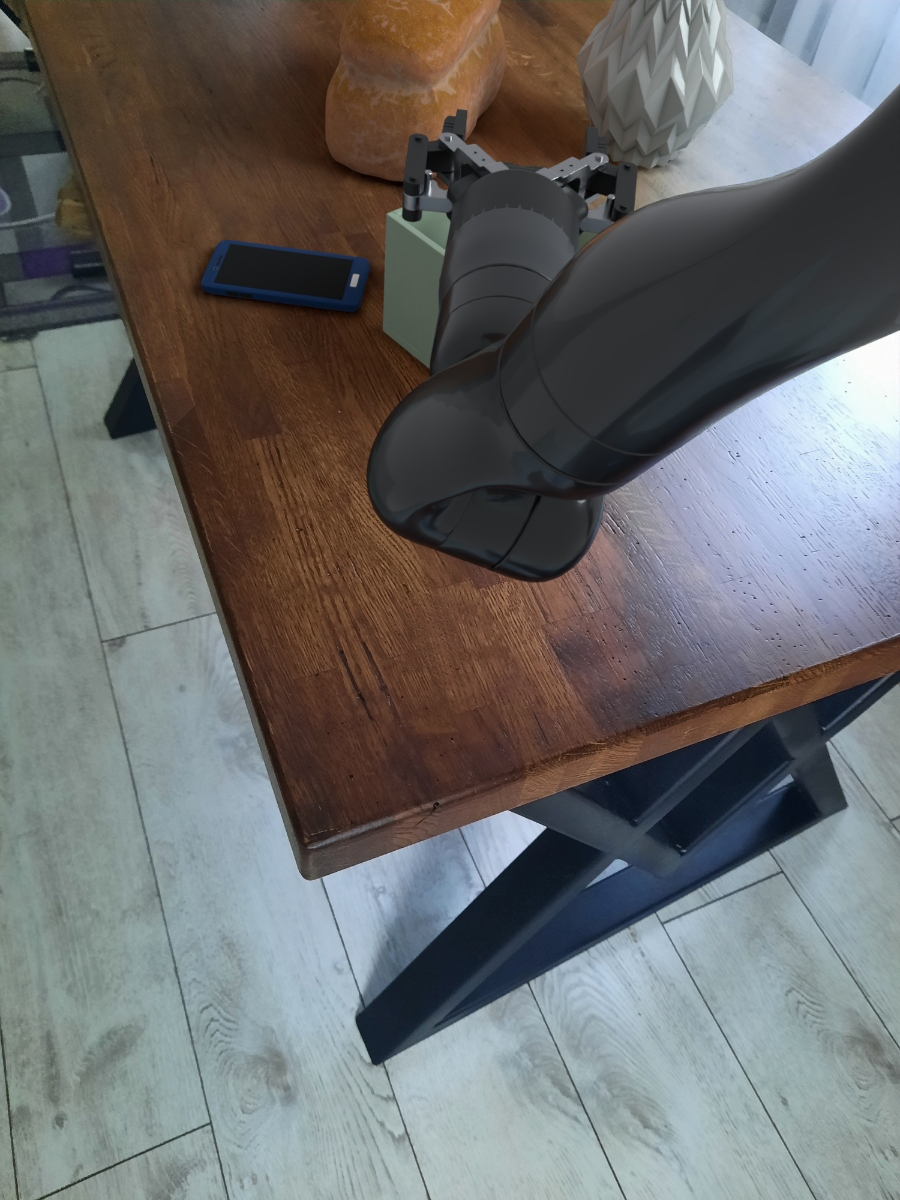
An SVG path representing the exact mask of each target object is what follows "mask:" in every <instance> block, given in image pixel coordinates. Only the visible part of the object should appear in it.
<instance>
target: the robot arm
mask: <svg viewBox="0 0 900 1200" xmlns="http://www.w3.org/2000/svg"><path fill="white" fill-rule="evenodd" d="M467 113H468V110H463V109H457V112H456V116H447V117H446V118H445V120H444V125H443V129H442V134H440V135H439V139H438V140H435V141H428V140H429V139H428V137H427V136H426V135H423V134H412V135H410V136H409V142H408V150H407V157H406V164H405V172H404V182H402V183H403V185H402V204H401V205H402V206H401V208H402V218H403V219H404V220H406V221H408V222H418V221H420V220H421V218H422V211H432V212H442V213H446V216H447V218H448V219H449V220H450V227H449V233H448V238H447V243H446V249H445V254H444V260H443V265H442V270H441V275H440V278H439V291H438V304H439V313H438V318H437V324H436V330H435V335H434V341H433V347H432V352H431V358H430V369H429V377H428V378H427V379H425V380H424V381H422V382H420V383H419V384H418V385H417V386H415V387H414V388H413V389H412V390H411V391H410V392H408V393H407V394H406V395H405V396H404V397H403V398H402V399H401V400H400V401H399V403H398V404H397V405H395V407H394V408H392V411H391V412H390V413H389V414H388V416H387V417H386V419H384V421H383V423H382V425H381V426H380V427H379V429H378V432H377V434H376V436H375V438H374V439H373V443H372V444H371V448H370V451H369V455H368V459H367V463H366V472H365V483H366V484H365V485H366V490H367V495H368V499H369V501H370V504H371V507H372V509H373V511H374V513H375V514H376V516H377V517H378V519H379V520H380V521H381V523H382V524H383V525H384V526H385V527H386V529H389V530H390V531H391V532H392V533H394V534H395V535H397V536H399V537H401V538H402V539H405V540H406V541H409V542H411V543H413V544H417V545H420V546H422V547H424V548H428V549H431V550H434V551H436V552H439V553H442V554H445V555H447V556H450V557H452V558H454V559H458V560H461V561H463V562H466V563H468V564H471V565H474V566H477V567H479V568H481V569H486V570H487V571H490V572H493V573H495V574H498V575H501V576H503V577H506V578H509V579H511V580H515V581H520V582H524V583H530V584H537V583H538V584H539V583H547V582H550V581H553V580H556V579H559V578H560V577H563V575H565V574H567V573H568V572H570V571H571V570H573V569H574V568H575V567H576V566H577V565H578V564H579V563H580V562H581V561H582V560H583V558H584V557H585V556H586V555H587V553H588V552H589V550H590V549H591V547H592V546H593V544H594V542H595V540H596V537H597V534H598V533H599V530H600V527H601V524H602V520H603V516H604V511H605V505H606V495H609V494H611V493H613V492H615V491H617V490H619V489H621V488H622V487H624V486H626V485H627V484H629V483H631V482H632V481H634V480H635V479H637V478H638V477H639V476H641V475H643V474H644V473H645V472H647V471H648V470H650V469H651V468H653V467H654V466H655V465H657V464H658V463H660V462H661V461H663V460H664V459H666V458H667V457H669V456H670V455H672V454H673V453H674V452H676V451H677V450H679V449H680V448H682V447H683V446H684V445H686V444H688V443H689V442H691V441H692V440H694V439H695V438H696V437H698V436H699V435H701V434H702V433H704V432H705V431H706V430H708V429H709V428H710V427H712V426H714V425H715V424H716V423H718V422H720V421H721V420H723V419H724V418H726V417H727V416H729V415H732V414H733V413H734V412H735V411H737V410H739V409H740V408H742V407H743V406H746V405H747V404H749V403H750V402H751V401H754V400H755V399H757V398H758V397H761V396H763V395H764V394H766V393H768V392H770V391H772V390H774V389H775V388H777V387H780V386H781V385H782V384H784V383H786V382H789V381H791V380H793V379H795V378H797V377H798V376H801V375H803V374H804V373H806V372H809V371H811V370H813V369H815V368H817V367H819V366H822V365H823V364H825V363H827V362H829V361H832V360H834V359H836V358H838V357H841V356H843V355H845V354H848V353H850V352H852V351H856V350H857V349H859V348H862V347H865V346H867V345H869V344H872V343H873V342H876V341H878V340H881V339H884V338H886V337H888V336H890V335H892V334H895V333H898V332H899V331H900V83H899V84H898V85H897V86H896V87H895V88H894V89H893V90H892V91H891V92H890V93H889V94H888V95H887V96H886V98H885V99H883V101H882V102H881V103H879V105H878V106H876V108H875V109H874V110H873V111H872V112H871V113H870V114H869V115H868V116H867V117H866V118H864V120H863V121H861V123H860V124H858V125H857V126H856V127H854V128H853V129H852V130H851V131H850V132H849V133H847V134H846V135H845V136H843V137H842V138H841V139H840V140H839V141H837V142H836V143H835V144H833V145H832V146H830V147H829V148H827V149H826V150H825V151H823V152H822V153H820V154H819V155H817V156H816V157H815V158H813V159H810V160H809V161H807V162H805V163H803V164H802V165H800V166H796V167H794V168H792V169H789V170H787V171H783V172H781V173H778V174H775V175H772V176H769V177H765V178H761V179H755V180H752V181H751V180H750V181H747V182H742V183H741V182H740V183H735V184H729V185H722V186H715V187H709V188H705V189H704V188H703V189H701V190H700V189H699V190H695V191H690V192H686V193H681V194H677V195H673V196H670V197H669V196H668V197H666V198H662V199H660V200H657V201H653V202H651V203H648V204H645V205H643V206H640V207H639V208H637V209H635V207H636V194H637V193H636V192H637V179H638V167H639V166H636V165H635V164H633V163H631V162H619V163H618V164H617V165H614V164H612V163H611V162H609V160H610V158H609V156H608V154H607V140H606V139H605V137H603V136H598V128H595V127H591V126H586V128H585V133H584V139H583V143H582V148H581V153H580V159H578V158H576V157H575V156H571V157H569V158H567V159H565V160H563V161H561V162H559V163H557V164H556V165H553V166H552V167H549V168H548V167H545V166H538V165H519V164H515V163H512V162H507V161H499V160H495V159H494V158H493V157H492V156H491V155H489V154H488V153H487V152H486V151H484V149H482V147H480V146H479V145H478V144H477V143H472V144H467V143H466V140H465V134H466V123H467ZM432 173H436V175H437V177H438V178H439V179H440V180H441V182H443V183H444V185H446V186H447V189H446V190H445V189H443V188H441V187H440V186H439V185H438V182H437V180H435V179H434V178H433V179H432ZM601 196H604V197H606V201H605V202H602V203H600V204H599V205H598V207H597V208H594V209H589V204H591V203H593V202H594V201H596V200H598V199H600V198H601ZM584 231H585V232H591V233H597V235H596V236H594V237H593V238H592V239H591V240H590V241H588V242H587V243H586V244H585V245H584V246H583V247H582V248H581V249H580V250H579V251H578V247H579V237H580V236H581V235H582V234H583V232H584Z"/></svg>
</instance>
